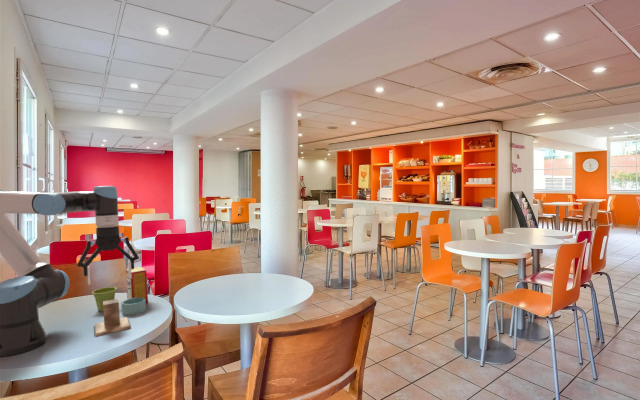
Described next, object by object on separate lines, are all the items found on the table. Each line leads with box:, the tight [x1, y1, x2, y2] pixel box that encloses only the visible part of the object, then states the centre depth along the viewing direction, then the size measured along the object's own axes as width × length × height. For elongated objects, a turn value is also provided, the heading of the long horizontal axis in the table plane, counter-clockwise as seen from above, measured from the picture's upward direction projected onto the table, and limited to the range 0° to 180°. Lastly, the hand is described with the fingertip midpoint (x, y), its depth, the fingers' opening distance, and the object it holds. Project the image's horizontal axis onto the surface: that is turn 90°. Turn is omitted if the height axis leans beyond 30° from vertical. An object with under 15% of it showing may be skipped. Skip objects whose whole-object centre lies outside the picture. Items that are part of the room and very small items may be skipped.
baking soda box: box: [125, 266, 149, 304], centre depth 167 cm, size 10×6×16 cm
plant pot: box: [91, 286, 117, 312], centre depth 159 cm, size 9×9×9 cm
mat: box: [93, 318, 132, 338], centre depth 137 cm, size 12×12×1 cm
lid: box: [94, 298, 131, 337], centre depth 137 cm, size 11×11×10 cm
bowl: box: [120, 297, 147, 316], centre depth 154 cm, size 9×9×5 cm
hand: (110, 280), depth 137 cm, fingers open, 13 cm apart
